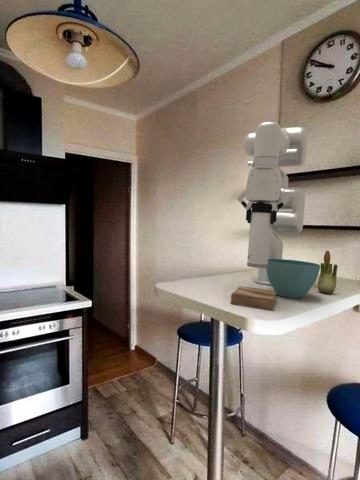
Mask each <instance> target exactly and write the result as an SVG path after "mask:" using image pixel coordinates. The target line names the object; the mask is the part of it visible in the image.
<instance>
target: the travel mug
mask: <svg viewBox="0 0 360 480" xmlns="http://www.w3.org/2000/svg"><path fill="white" fill-rule="evenodd" d="M272 211H273V209H272V204H269V203H263V202H254V203H252V208H251V221H250V223H249V224H250V226H249V234H248V237H249V238H248V247H247V248H248V250H247V263H246V266H247V267H249V268H256V269H258V268H267V267H268V257H269V245H270V232H271V213H272Z"/></svg>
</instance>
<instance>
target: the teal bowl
mask: <svg viewBox="0 0 360 480" xmlns="http://www.w3.org/2000/svg"><path fill="white" fill-rule="evenodd" d="M266 271H267V275H268V279H269V281H270V283H271V285H270V286H271V287H272V288H273V291H276V295H278V296H281V297H285V298H289V299H301V298H303V297H305V296H306V295H307V293H308V292H309V291H310V290H311V289H312V288H313V287H314V286H315V284H316V281H317V279H318V278H319V277H318V276H319V275H320V271H321V264H319V263H315V262H311V261H310V262H309V261H303V260H296V259H284V258H282V259H268V267H267V268H266Z"/></svg>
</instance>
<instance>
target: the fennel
mask: <svg viewBox="0 0 360 480" xmlns="http://www.w3.org/2000/svg"><path fill="white" fill-rule="evenodd" d="M331 258H332V257H331V253H330V251H329V250H326V251H325V253H324V255H323V261H324V262H323V263H324V265H325V263H328V267H329V263H330V264H331ZM314 286H315V287H316V288H318V281H317V283H316V282H315V283H314ZM335 288H336V287H335ZM336 289H337V288H336Z"/></svg>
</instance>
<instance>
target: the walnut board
mask: <svg viewBox="0 0 360 480" xmlns="http://www.w3.org/2000/svg"><path fill="white" fill-rule="evenodd" d="M276 301H277V293H276V291H275V290H274V289H273V290H270V289H263V288H259V287H251V286H250V287H249V286H243V285H240V286H238V287H237V289H235V290H234V291H233V292H232V293H231V296H230V304H231V305H233V306H234V305H236V306H242V307H246V308H247V307H248V308H255V309H259V310H266V311H271V312H272V311H273V310H274V307H275V303H276Z"/></svg>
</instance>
